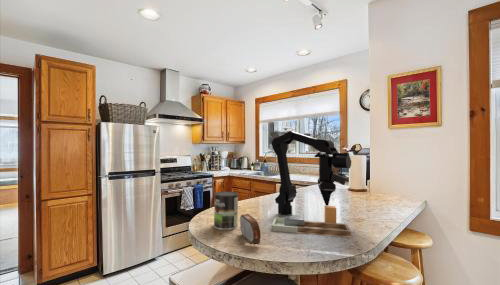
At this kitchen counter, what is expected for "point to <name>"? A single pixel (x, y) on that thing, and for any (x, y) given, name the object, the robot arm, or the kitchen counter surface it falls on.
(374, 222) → the kitchen counter surface
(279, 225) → the tray
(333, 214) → the rake block
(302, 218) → the chip
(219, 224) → the coffee can
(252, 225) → the grey and brown slab
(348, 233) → the channel board
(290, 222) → the chip
